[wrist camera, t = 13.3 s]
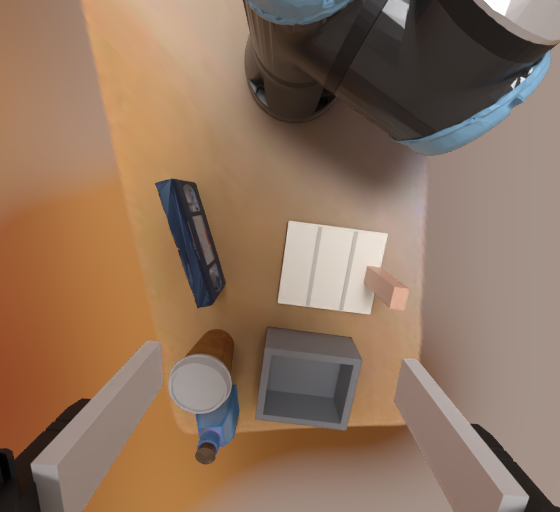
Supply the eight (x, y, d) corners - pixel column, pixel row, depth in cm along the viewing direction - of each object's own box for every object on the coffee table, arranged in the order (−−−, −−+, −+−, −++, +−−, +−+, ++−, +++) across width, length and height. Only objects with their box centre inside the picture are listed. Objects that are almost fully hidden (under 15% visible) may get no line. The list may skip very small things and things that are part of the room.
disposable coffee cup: (203, 371, 51) (179, 423, 39) (185, 329, 49) (154, 370, 37) (249, 358, 50) (239, 407, 39) (232, 315, 48) (216, 352, 37)
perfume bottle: (209, 412, 53) (188, 472, 41) (205, 386, 52) (182, 440, 40) (239, 410, 53) (227, 471, 41) (236, 384, 52) (222, 439, 40)
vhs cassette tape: (226, 284, 47) (212, 306, 37) (211, 287, 47) (192, 310, 38) (198, 181, 43) (174, 176, 34) (181, 185, 44) (153, 181, 34)
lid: (288, 219, 45) (291, 228, 32) (383, 232, 45) (422, 245, 32) (277, 298, 48) (276, 335, 35) (366, 309, 48) (396, 349, 36)
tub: (267, 326, 49) (265, 347, 42) (351, 337, 49) (362, 359, 42) (258, 390, 52) (255, 419, 45) (337, 400, 52) (346, 430, 45)
